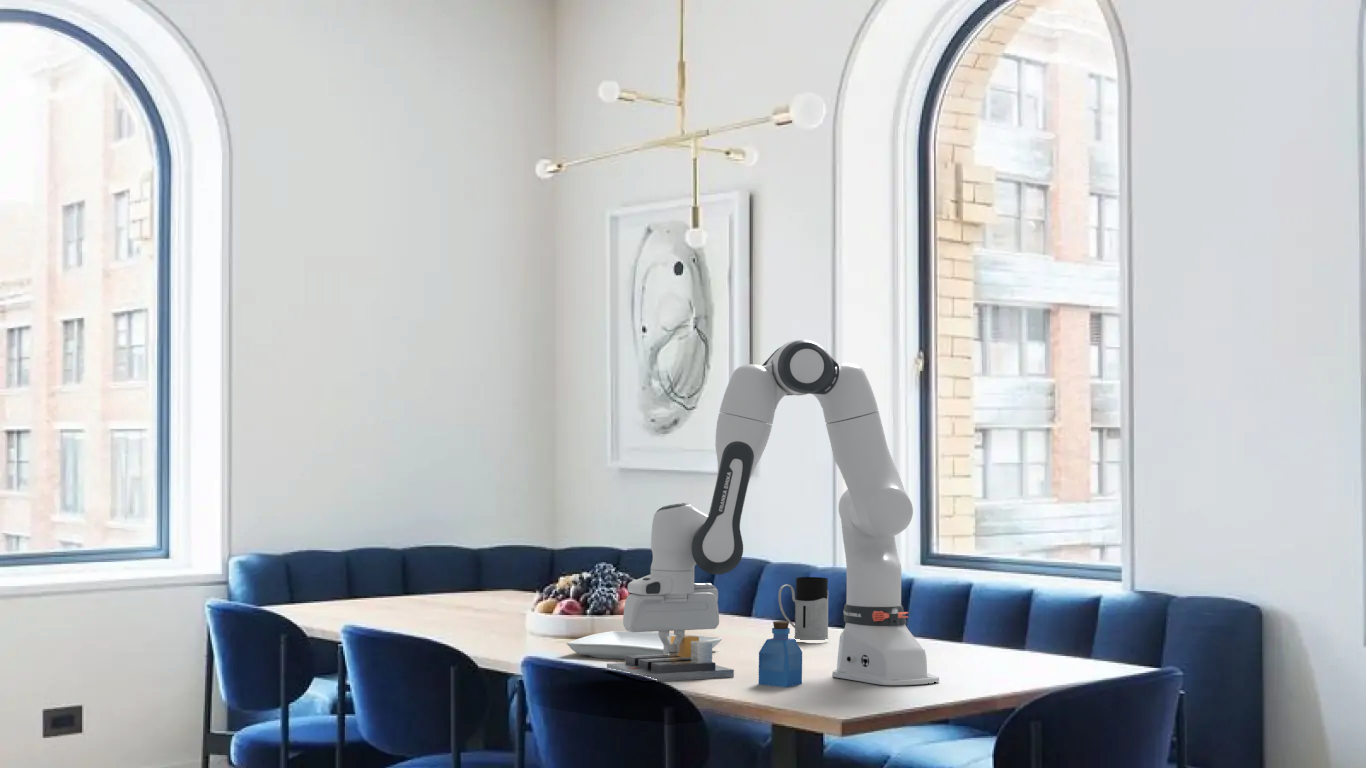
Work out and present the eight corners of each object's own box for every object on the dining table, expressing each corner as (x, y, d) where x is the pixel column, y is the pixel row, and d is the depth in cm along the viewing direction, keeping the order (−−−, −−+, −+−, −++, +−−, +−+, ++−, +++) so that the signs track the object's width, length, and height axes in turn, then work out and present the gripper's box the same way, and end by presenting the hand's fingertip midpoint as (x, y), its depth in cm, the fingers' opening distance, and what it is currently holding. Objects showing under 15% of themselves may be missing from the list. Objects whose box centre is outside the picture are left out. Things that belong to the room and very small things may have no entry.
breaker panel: (733, 677, 333) (734, 641, 333) (643, 682, 324) (643, 645, 324) (694, 666, 348) (695, 632, 348) (606, 671, 339) (607, 636, 339)
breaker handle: (698, 656, 337) (698, 636, 337) (684, 657, 336) (684, 637, 336) (691, 655, 340) (691, 635, 340) (677, 655, 339) (677, 635, 339)
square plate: (563, 659, 361) (564, 641, 361) (612, 645, 386) (612, 629, 387) (682, 666, 351) (682, 647, 352) (723, 652, 377) (723, 635, 377)
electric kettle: (837, 642, 397) (838, 578, 397) (789, 645, 389) (790, 580, 389) (814, 638, 404) (814, 576, 405) (767, 641, 396) (768, 578, 397)
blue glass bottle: (786, 687, 320) (787, 624, 321) (758, 684, 323) (759, 622, 324) (801, 683, 325) (802, 621, 326) (773, 681, 329) (774, 619, 329)
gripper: (710, 581, 344) (709, 649, 344) (620, 584, 335) (619, 653, 334) (725, 584, 339) (724, 652, 338) (633, 586, 329) (632, 657, 329)
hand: (671, 653), depth 336 cm, fingers closed
